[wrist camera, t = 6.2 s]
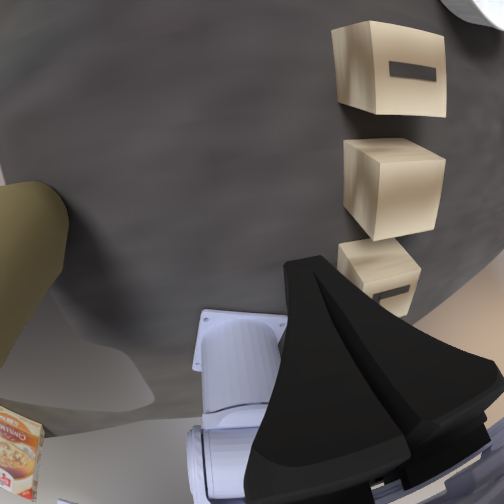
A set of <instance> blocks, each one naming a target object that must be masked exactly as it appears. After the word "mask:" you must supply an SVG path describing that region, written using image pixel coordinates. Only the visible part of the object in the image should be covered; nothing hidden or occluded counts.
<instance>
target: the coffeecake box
mask: <svg viewBox="0 0 504 504" xmlns="http://www.w3.org/2000/svg"><path fill="white" fill-rule="evenodd" d="M44 435H45V432H44V429H43V426H42V424H40V423H37V422H35V421H32V420H30V419H28V418H25V417H23V416H21V415H19V414H17V413H14V412H12V411H10V410H8V409H6V408H4V407H2V406H0V487H1V488H3V489H5V490H7V491H9V492H12V493H14V494H16V495H18V496H20V497H23V498H25V499H27V500H30V501H32V502H33V501H34V502H36V495H37V483H38V474H39V466H40V459H41V452H42V446H43V441H44Z"/></svg>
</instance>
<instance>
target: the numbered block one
mask: <svg viewBox="0 0 504 504" xmlns="http://www.w3.org/2000/svg"><path fill="white" fill-rule="evenodd" d="M331 33H332V41H333V50H334V60H335V70H336V82H337V96H338V102H339V103H342V104H345V105H349V106H352V107H355V108H358V109H361V110H364V111H367V112H370V113H373V114H376V115H377V114H380V115H418V116H435V117H446V61H445V46H444V36H440V35H437V34H433V33H429V32H425V31H421V30H417V29H413V28H408V27H404V26H399V25H393V24H388V23H382V22H375V21H366V22H361V23H357V24H353V25H349V26H345V27H341V28H337V29H334V30H331Z"/></svg>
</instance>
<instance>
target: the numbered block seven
mask: <svg viewBox="0 0 504 504" xmlns="http://www.w3.org/2000/svg"><path fill="white" fill-rule="evenodd" d="M337 270H338V271H339V272H340V273H341V274H343V275H344V276H345V277H346V278H347V279H348V280H350V281H351V282H352V283H353V284H354V285H356V286H357V287H358V288H359V289H360V290H362V291H363V292H364V293H365V294H366V295H368V296H369V297H370V298H372V299H373V300H374V301H376V302H377V303H378V304H380V305H381V306H382V307H384V308H385V309H386V310H388V311H389V312H391V313H392V314H394V315H395V316H397V317H401V316H404V315H407V313H408V310H409V307H410V304H411V301H412V298H413V295H414V292H415V289H416V285H417V282H418V279H419V275H420V272H421V268H420V267H419V266H418V265H417V263H416V262H415V261H414V260H413V259H412V257H411V256H410V255H409V254H408V253H407V252H406V250H405V249H404V248H403V247H402V246H401V245H400V244H399V243H398V241H397V240H396V239H395V238H394V237H393V238H388V239H383V240H378V241H373V240H372V239H371V238H368V239H362V240H357V241H352V242H346V243H341V244H339V246H338V262H337Z"/></svg>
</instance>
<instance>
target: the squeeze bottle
mask: <svg viewBox="0 0 504 504" xmlns="http://www.w3.org/2000/svg"><path fill="white" fill-rule="evenodd" d="M68 229H69V218H68V212H67V208H66V207H65V205H64V203H63V201H62V199H61V197H60V196H59V195H58V194H57V193H56V192H55V191H54V190H53V189H52V188H51V187H50V186H49V185H46V184H44V183H41V182H39V181H28V182H21V183H15V184H10V185H5V186H0V368H2V366H3V364H4V362H5V361H6V359H7V357H8V355H9V353H10V351H11V349H12V348H13V346H14V344H15V342H16V340H17V339H18V337H19V335H20V334H21V332H22V330H23V329H24V327H25V325H26V324H27V322H28V320H29V319H30V317H31V316H32V314H33V313H34V311H35V309H36V308H37V306H38V305H39V303H40V302H41V300H42V299H43V297H44V296H45V294H46V293H47V291H48V290H49V289H50V287H51V286H52V284H53V283H54V281H55V280H56V279H57V277H58V276H59V275H60V273H61V272H62V270H63V263H64V255H65V248H66V241H67V235H68Z"/></svg>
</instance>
